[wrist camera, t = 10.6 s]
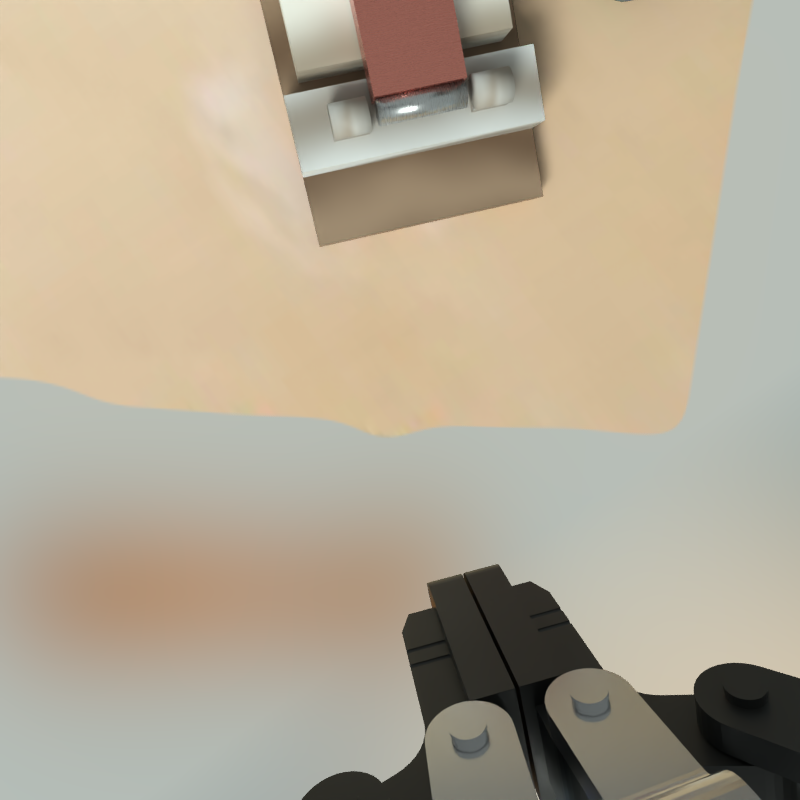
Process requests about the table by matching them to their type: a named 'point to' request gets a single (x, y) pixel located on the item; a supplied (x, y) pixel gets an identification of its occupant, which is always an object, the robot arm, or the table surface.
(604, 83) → the table surface
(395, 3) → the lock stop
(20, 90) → the table surface
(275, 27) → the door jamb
